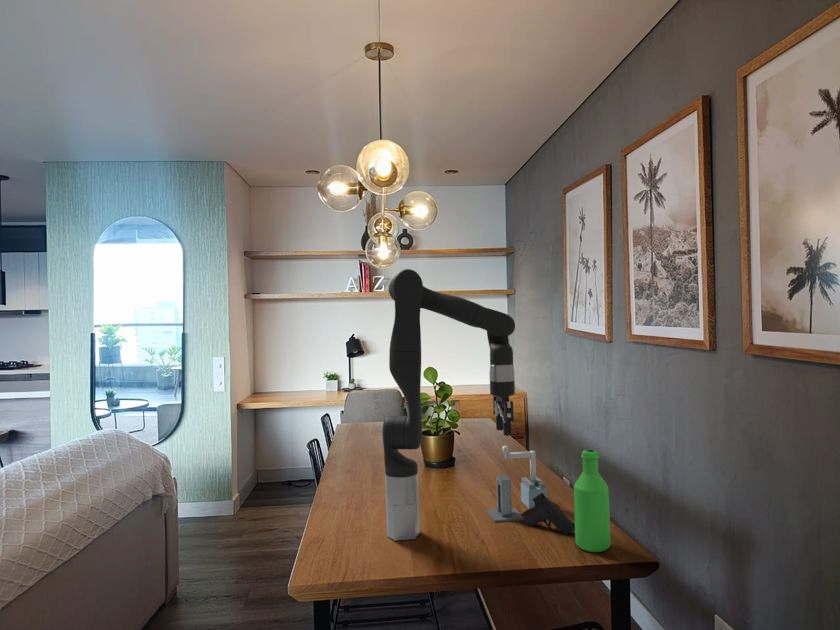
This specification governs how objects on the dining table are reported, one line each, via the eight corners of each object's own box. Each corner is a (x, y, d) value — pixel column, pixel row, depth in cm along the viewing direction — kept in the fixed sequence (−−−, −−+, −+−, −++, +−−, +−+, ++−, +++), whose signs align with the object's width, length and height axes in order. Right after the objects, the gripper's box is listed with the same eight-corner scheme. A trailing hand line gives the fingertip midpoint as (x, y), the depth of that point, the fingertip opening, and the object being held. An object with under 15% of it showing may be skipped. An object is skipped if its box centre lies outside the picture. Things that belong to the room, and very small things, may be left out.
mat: (523, 519, 163) (523, 517, 163) (494, 522, 161) (494, 520, 161) (514, 509, 172) (514, 507, 172) (486, 511, 170) (486, 509, 170)
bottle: (587, 555, 137) (584, 456, 138) (568, 542, 146) (566, 448, 146) (617, 550, 140) (614, 453, 140) (597, 538, 148) (595, 445, 148)
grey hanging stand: (547, 507, 172) (545, 447, 173) (507, 510, 171) (506, 449, 171) (538, 499, 180) (537, 441, 180) (500, 502, 179) (499, 443, 179)
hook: (511, 516, 164) (510, 479, 164) (502, 517, 164) (501, 480, 164) (506, 510, 170) (505, 474, 170) (497, 510, 169) (496, 475, 169)
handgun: (524, 513, 162) (541, 489, 158) (560, 548, 155) (579, 524, 151) (519, 516, 160) (537, 491, 156) (555, 552, 153) (574, 528, 149)
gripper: (521, 381, 160) (522, 436, 160) (507, 376, 174) (509, 427, 174) (496, 382, 159) (497, 438, 159) (484, 377, 173) (485, 429, 173)
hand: (503, 432), depth 166 cm, fingers open, 8 cm apart
